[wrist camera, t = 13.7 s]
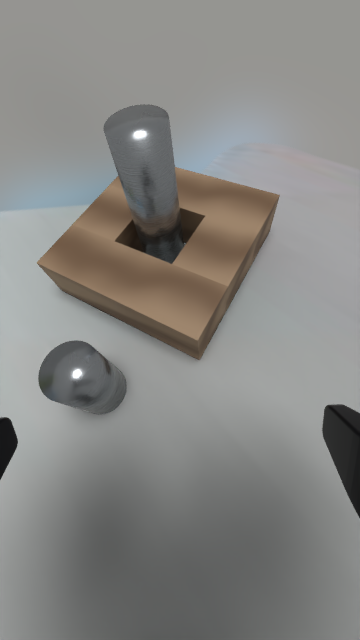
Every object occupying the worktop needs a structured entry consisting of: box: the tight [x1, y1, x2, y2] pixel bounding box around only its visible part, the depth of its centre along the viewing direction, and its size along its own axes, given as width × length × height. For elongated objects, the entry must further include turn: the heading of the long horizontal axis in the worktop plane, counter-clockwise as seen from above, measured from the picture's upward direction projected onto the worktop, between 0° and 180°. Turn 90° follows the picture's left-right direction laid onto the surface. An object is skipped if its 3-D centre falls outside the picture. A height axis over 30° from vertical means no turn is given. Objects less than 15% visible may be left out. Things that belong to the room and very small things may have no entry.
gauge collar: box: [37, 167, 280, 360], centre depth 25 cm, size 16×16×4 cm
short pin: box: [39, 341, 126, 414], centre depth 19 cm, size 4×4×6 cm
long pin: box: [104, 105, 184, 264], centre depth 21 cm, size 4×4×13 cm
